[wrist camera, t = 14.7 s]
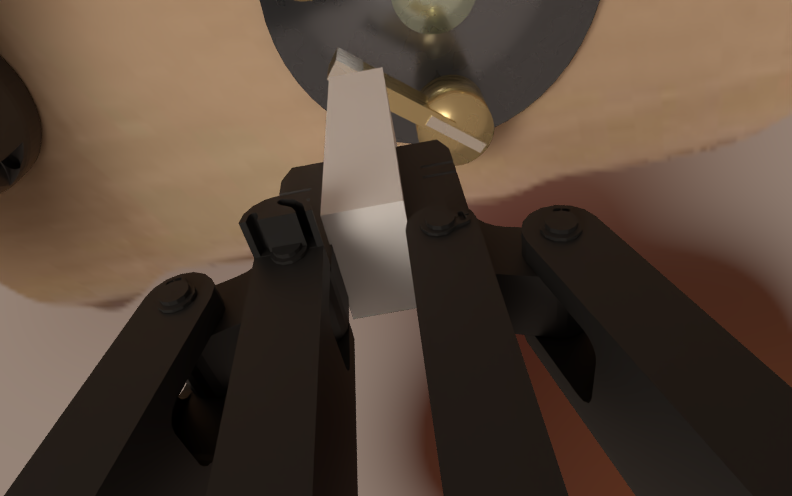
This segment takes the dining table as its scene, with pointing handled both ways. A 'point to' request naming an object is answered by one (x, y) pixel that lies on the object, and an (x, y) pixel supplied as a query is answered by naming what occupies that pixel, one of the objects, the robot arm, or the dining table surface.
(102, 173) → the dining table surface
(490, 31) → the plate
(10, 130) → the robot arm
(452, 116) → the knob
